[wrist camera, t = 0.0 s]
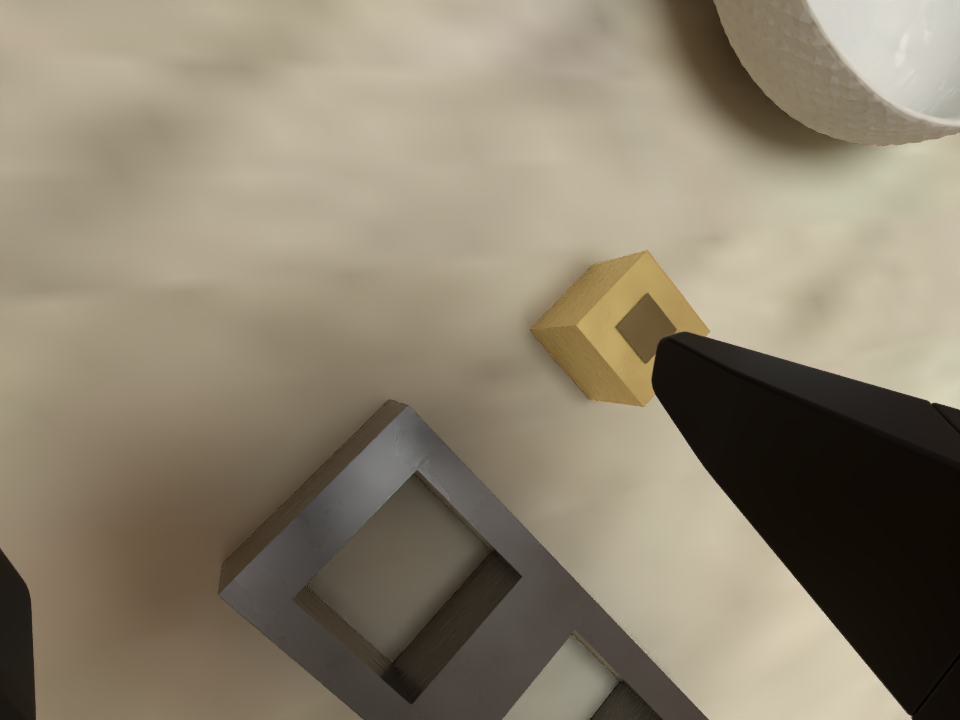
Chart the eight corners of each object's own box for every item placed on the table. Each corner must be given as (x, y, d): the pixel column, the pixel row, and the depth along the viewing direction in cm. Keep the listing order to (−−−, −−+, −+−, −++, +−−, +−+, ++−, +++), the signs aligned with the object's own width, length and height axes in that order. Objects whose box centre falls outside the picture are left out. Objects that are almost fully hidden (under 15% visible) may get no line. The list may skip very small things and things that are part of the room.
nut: (648, 334, 28) (712, 331, 24) (588, 399, 27) (645, 407, 23) (592, 264, 27) (649, 249, 23) (528, 329, 26) (577, 324, 22)
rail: (669, 689, 28) (715, 727, 25) (549, 848, 26) (585, 908, 23) (389, 399, 24) (408, 405, 21) (222, 564, 22) (217, 595, 19)
